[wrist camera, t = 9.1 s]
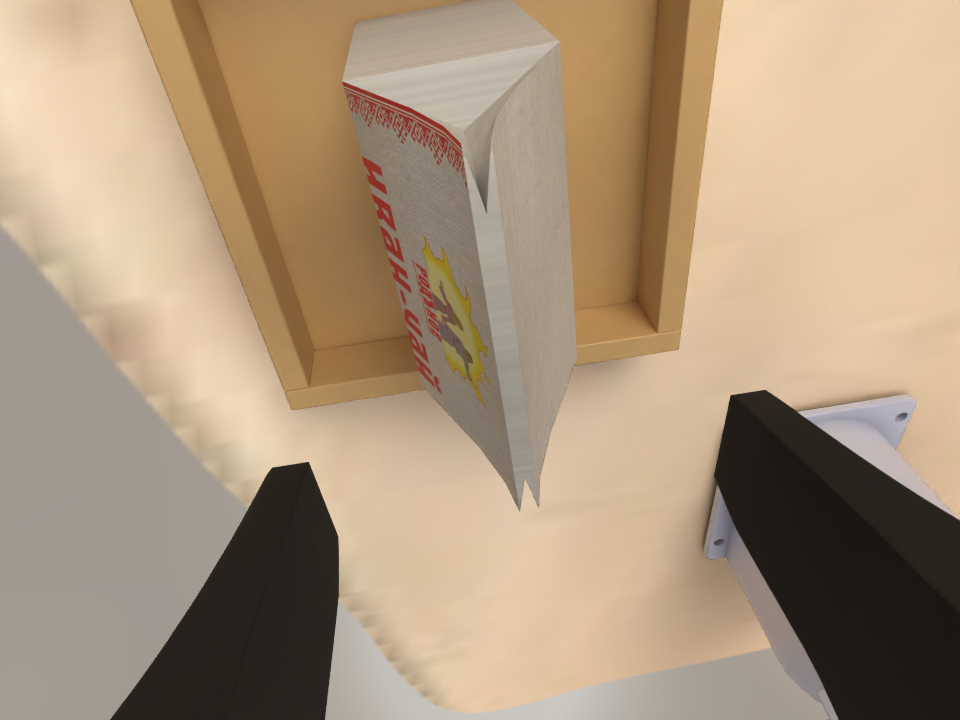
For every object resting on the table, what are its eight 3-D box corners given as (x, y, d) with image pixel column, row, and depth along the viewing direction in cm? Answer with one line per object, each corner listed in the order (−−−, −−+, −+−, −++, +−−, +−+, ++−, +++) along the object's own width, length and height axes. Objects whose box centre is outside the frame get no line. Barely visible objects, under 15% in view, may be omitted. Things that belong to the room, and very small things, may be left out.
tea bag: (505, -6, 15) (640, 109, 7) (529, 242, 19) (632, 490, 11) (355, 21, 15) (322, 168, 7) (413, 264, 19) (432, 529, 11)
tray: (652, 308, 22) (679, 350, 20) (299, 363, 21) (291, 411, 19) (699, -208, 13) (752, -225, 11) (119, -137, 13) (72, -141, 11)
